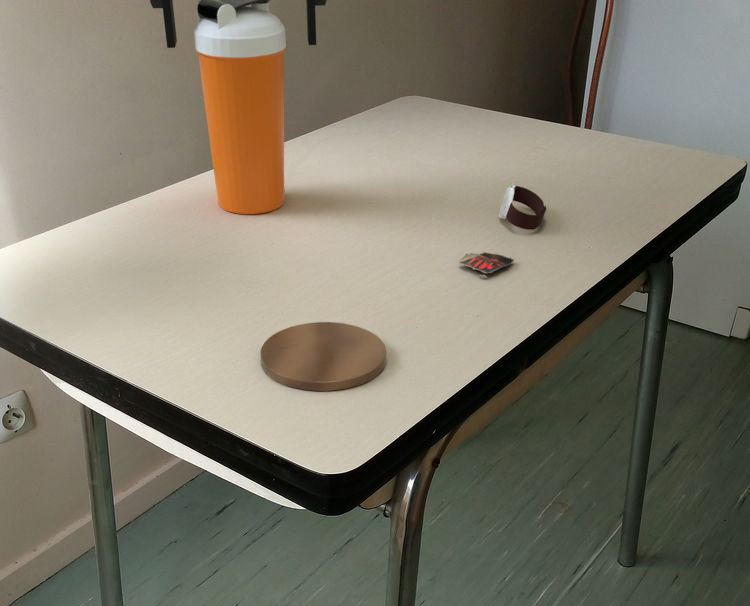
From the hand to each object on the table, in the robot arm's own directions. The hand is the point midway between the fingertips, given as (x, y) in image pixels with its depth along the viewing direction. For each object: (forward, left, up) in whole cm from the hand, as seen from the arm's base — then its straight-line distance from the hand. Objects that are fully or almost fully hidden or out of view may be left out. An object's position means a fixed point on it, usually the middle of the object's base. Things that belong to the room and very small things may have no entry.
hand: (242, 43), depth 98 cm
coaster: (+6, -35, -16) cm, 39 cm away
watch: (+28, -7, -16) cm, 33 cm away
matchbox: (+22, -18, -16) cm, 32 cm away
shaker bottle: (0, 0, -16) cm, 16 cm away
